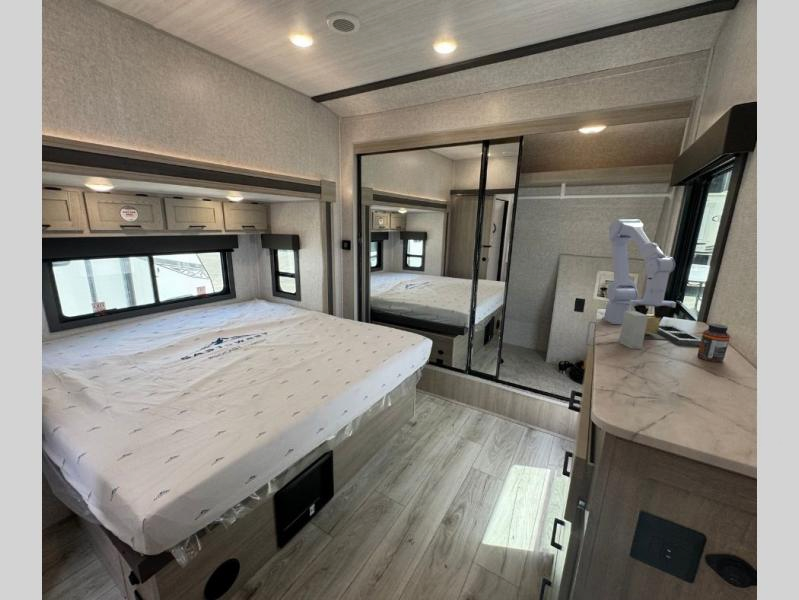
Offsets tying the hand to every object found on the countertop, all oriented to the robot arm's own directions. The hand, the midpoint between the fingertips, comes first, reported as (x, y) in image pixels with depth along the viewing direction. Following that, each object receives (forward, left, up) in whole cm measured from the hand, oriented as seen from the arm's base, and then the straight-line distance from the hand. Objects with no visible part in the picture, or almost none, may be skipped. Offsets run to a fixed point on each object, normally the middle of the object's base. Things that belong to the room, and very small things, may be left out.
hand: (648, 324), depth 116 cm
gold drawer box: (0, 0, -3) cm, 3 cm away
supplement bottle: (+20, +8, -5) cm, 22 cm away
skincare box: (+12, -11, -5) cm, 17 cm away
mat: (0, 0, -4) cm, 4 cm away
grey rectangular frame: (+1, +10, -4) cm, 10 cm away
